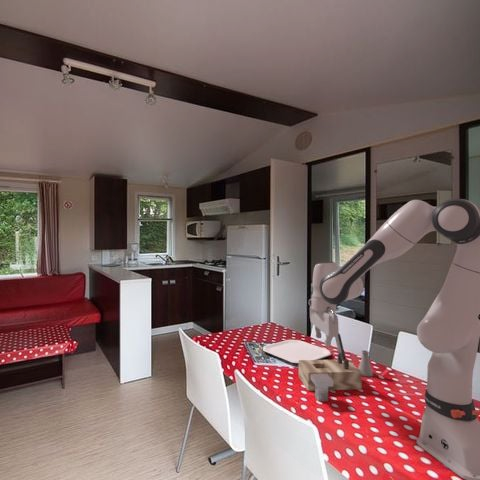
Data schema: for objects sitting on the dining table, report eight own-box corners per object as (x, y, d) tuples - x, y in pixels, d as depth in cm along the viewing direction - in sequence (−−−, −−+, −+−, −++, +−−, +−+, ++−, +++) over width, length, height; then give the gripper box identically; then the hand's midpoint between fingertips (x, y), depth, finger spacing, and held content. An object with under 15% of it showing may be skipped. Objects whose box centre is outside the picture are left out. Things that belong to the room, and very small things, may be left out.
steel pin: (332, 402, 115) (333, 380, 115) (315, 403, 115) (316, 381, 115) (326, 394, 122) (326, 373, 122) (310, 394, 121) (310, 373, 121)
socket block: (347, 375, 139) (347, 351, 140) (361, 389, 127) (362, 363, 127) (298, 376, 137) (299, 352, 137) (307, 390, 124) (308, 363, 124)
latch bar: (339, 358, 134) (342, 357, 135) (344, 361, 130) (346, 361, 131) (333, 332, 134) (336, 331, 134) (337, 334, 130) (340, 334, 130)
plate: (299, 370, 145) (300, 365, 145) (257, 351, 167) (257, 347, 167) (336, 356, 163) (336, 352, 163) (293, 341, 186) (293, 338, 186)
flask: (375, 378, 138) (375, 355, 138) (357, 376, 139) (358, 353, 139) (371, 371, 145) (372, 349, 145) (355, 369, 146) (355, 348, 146)
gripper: (343, 311, 108) (342, 351, 108) (322, 299, 129) (321, 333, 129) (326, 311, 108) (324, 351, 108) (307, 299, 128) (306, 333, 128)
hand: (322, 341), depth 118 cm, fingers open, 8 cm apart
